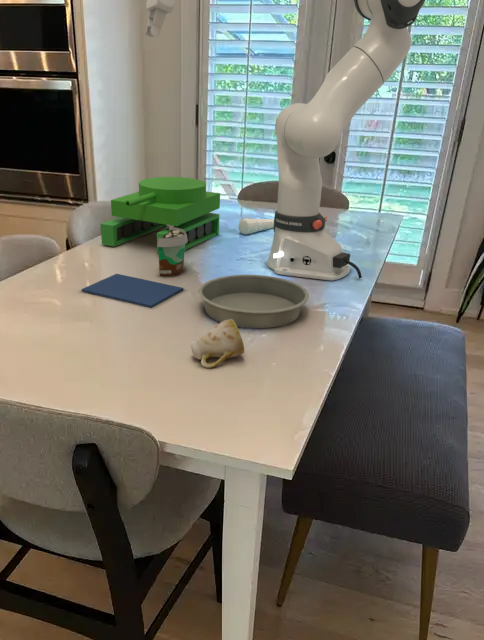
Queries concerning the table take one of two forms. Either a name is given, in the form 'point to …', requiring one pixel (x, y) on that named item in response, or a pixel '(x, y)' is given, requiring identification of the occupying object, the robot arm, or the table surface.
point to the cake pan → (253, 300)
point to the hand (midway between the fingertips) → (151, 36)
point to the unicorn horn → (254, 225)
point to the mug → (219, 343)
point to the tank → (164, 211)
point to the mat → (133, 290)
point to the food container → (172, 252)
